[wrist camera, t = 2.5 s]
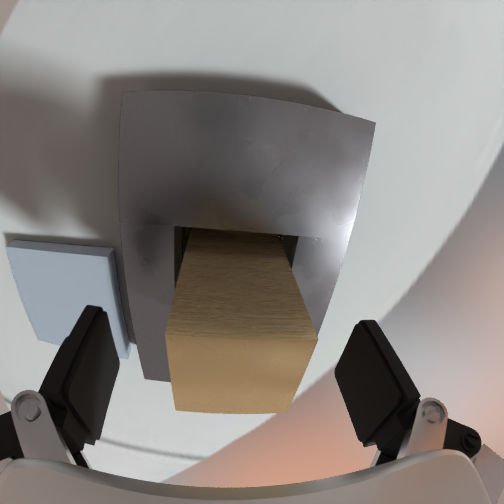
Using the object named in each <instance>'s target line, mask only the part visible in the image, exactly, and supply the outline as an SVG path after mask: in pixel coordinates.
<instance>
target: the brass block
mask: <svg viewBox="0 0 504 504" xmlns="http://www.w3.org/2000/svg"><path fill="white" fill-rule="evenodd" d="M165 338H166V347H167V356H168V364H169V371H170V378H171V385H172V391H173V397H174V403H175V409H176V410H178V411H189V412H203V413H225V414H264V413H286V412H287V411H288V408H289V406H290V404H291V402H292V400H293V398H294V396H295V393H296V391H297V389H298V387H299V384H300V382H301V380H302V378H303V375H304V373H305V371H306V368H307V366H308V363H309V361H310V359H311V356H312V354H313V351H314V349H315V346H316V344H317V341H318V337H317V335H316V332H315V329H314V326H313V324H312V321H311V318H310V316H309V313H308V311H307V308H306V305H305V303H304V300H303V297H302V295H301V292H300V290H299V287H298V285H297V282H296V279H295V277H294V274H293V272H292V269H291V267H290V264H289V262H288V259H287V257H286V254H285V252H284V249H283V247H282V244H281V242H280V239H279V237H278V234H271V233H259V232H247V231H235V230H222V229H209V228H196V227H192V229H191V232H190V236H189V239H188V243H187V246H186V250H185V254H184V257H183V261H182V265H181V269H180V272H179V276H178V280H177V284H176V288H175V292H174V296H173V301H172V305H171V309H170V313H169V318H168V322H167V327H166V331H165Z"/></svg>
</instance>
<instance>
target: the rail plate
mask: <svg viewBox="0 0 504 504" xmlns="http://www.w3.org/2000/svg"><path fill="white" fill-rule="evenodd" d="M375 124H376V123H375V122H372V121H369V120H366V119H362V118H359V117H355V116H352V115H348V114H344V113H340V112H336V111H332V110H328V109H324V108H320V107H315V106H310V105H305V104H300V103H295V102H290V101H284V100H278V99H272V98H265V97H258V96H250V95H241V94H232V93H220V92H205V91H179V90H154V91H128V92H123V94H122V104H121V117H120V132H119V165H118V180H119V214H120V230H121V243H122V254H123V263H124V272H125V280H126V287H127V294H128V301H129V307H130V313H131V319H132V324H133V329H134V334H135V339H136V344H137V349H138V353H139V358H140V362H141V366H142V370H143V374H144V378H145V379H149V380H157V381H165V382H171V378H170V371H169V364H168V356H167V347H166V338H165V331H166V327H167V322H168V318H169V313H170V309H171V305H172V301H173V296H174V292H175V288H176V284H177V280H178V276H179V272H180V269H181V265H182V227H196V228H209V229H222V230H235V231H247V232H259V233H271V234H282V235H284V236H283V241H282V247H283V249H284V252H285V254H286V257H287V259H288V262H289V264H290V267H291V269H292V272H293V274H294V277H295V279H296V282H297V285H298V287H299V290H300V292H301V295H302V297H303V300H304V303H305V305H306V308H307V311H308V313H309V316H310V318H311V321H312V324H313V326H314V329H315V332H316V335H317V336H318V333H319V330H320V328H321V325H322V322H323V319H324V317H325V314H326V311H327V308H328V305H329V302H330V300H331V297H332V294H333V291H334V288H335V285H336V282H337V278H338V275H339V272H340V269H341V266H342V262H343V259H344V256H345V253H346V249H347V246H348V242H349V239H350V235H351V232H352V228H353V224H354V220H355V217H356V213H357V209H358V205H359V201H360V197H361V193H362V189H363V184H364V180H365V175H366V171H367V166H368V161H369V157H370V152H371V146H372V141H373V136H374V130H375Z"/></svg>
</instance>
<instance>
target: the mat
mask: <svg viewBox="0 0 504 504" xmlns="http://www.w3.org/2000/svg"><path fill="white" fill-rule="evenodd" d="M6 251H7V254H8V258H9V262H10V266H11V269H12V272H13V276H14V279H15V282H16V285H17V288H18V291H19V294H20V297H21V299H22V302H23V305H24V308H25V310H26V313H27V315H28V318H29V320H30V322H31V325H32V327H33V329H34V332H35V334H36V336H37V338H38V340H41V341H44V342H48V343H52V344H56V345H60V346H61V344H62V343H63V341H64V339H65V338H66V337H67V336H69V335H70V333H71V331H72V329H73V327H74V326H75V324H76V322H77V320H78V318H79V317H80V315H81V313H82V312H83V310H84V308H85V307H86V305H93V306H100V307H102V308H103V311H106V312H107V314H108V318H109V323H110V327H111V331H112V335H113V339H114V343H115V347H116V350H117V354H118V357H119V358H124V359H128V357H129V354H130V351H131V346H130V342H129V338H128V333H127V329H126V324H125V319H124V314H123V308H122V303H121V297H120V291H119V285H118V278H117V271H116V263H115V255H114V248H105V247H93V246H81V245H69V244H57V243H45V242H34V241H22V240H13V241H12V242H10V243H9V244H8V245H7V246H6Z"/></svg>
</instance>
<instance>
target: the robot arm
mask: <svg viewBox="0 0 504 504" xmlns="http://www.w3.org/2000/svg"><path fill="white" fill-rule="evenodd" d="M119 366H120V362H119V357H118V354H117V350H116V347H115V343H114V339H113V335H112V331H111V327H110V323H109V318H108V314H107V312H106V311H103V308H102V307H100V306H93V305H86V307H85V308H84V310H83V312H82V313H81V315H80V317H79V318H78V320H77V322H76V324H75V326H74V327H73V329H72V331H71V333H70V335H69V336H67V337H66V338H65V339H64V341H63V343H62V344H61V346H60V348H59V350H58V352H57V354H56V356H55V358H54V360H53V362H52V364H51V366H50V368H49V370H48V372H47V374H46V376H45V378H44V381H43V383H42V385H41V387H40V389H39V392H36V391H33V390H25V391H22V392H20V393H18V394H17V395H16V396H15V397H14V399H13V401H12V404H11V411H9V412H7V413H5V414H2V415H0V504H496V503H497V501H498V499H499V497H500V494H501V492H502V490H503V488H504V459H502V458H501V457H500V456H499V455H497V454H496V453H495V452H494V451H492V450H491V449H490V448H489V447H488V446H486V445H485V444H483V445H482V446H481V438H480V436H479V434H478V433H477V432H476V431H475V430H474V429H472V428H470V427H467V426H465V425H462V424H460V423H458V422H456V421H453V420H451V419H449V418H448V413H447V409H446V408H445V406H444V405H443V403H441V402H440V401H439V400H437V399H435V398H425V399H423V400H422V401H420V399H419V397H420V394H419V392H418V390H417V388H416V387H415V385H414V383H413V381H412V380H411V378H410V376H409V374H408V373H407V371H406V369H405V367H404V366H403V364H402V362H401V361H400V359H399V357H398V356H397V354H396V353H395V351H394V349H393V348H392V346H391V344H390V343H389V341H388V339H387V338H386V336H385V335H384V333H383V332H382V330H381V328H380V327H379V325H378V324H377V322H376V321H375V320H361V321H360V322H359V323H358V324H356V325H355V327H354V329H353V331H352V334H351V336H350V338H349V340H348V342H347V345H346V347H345V349H344V351H343V353H342V355H341V357H340V360H339V362H338V364H337V366H336V368H335V378H336V380H337V383H338V386H339V388H340V391H341V393H342V396H343V399H344V401H345V404H346V407H347V410H348V412H349V415H350V418H351V421H352V423H353V426H354V429H355V432H356V435H357V438H358V440H359V441H360V442H362V443H363V446H364V447H368V446H371V445H375V444H376V445H377V448H378V450H377V452H376V455H375V457H374V459H373V461H372V464H371V466H370V468H367V469H364V470H360V471H356V472H352V473H348V474H344V475H339V476H335V477H330V478H325V479H320V480H314V481H308V482H301V483H295V484H287V485H276V486H265V487H247V488H246V487H245V488H213V487H193V486H180V485H171V484H163V483H155V482H149V481H143V480H137V479H132V478H127V477H122V476H117V475H113V474H108V473H104V472H100V471H96V470H93V469H92V467H91V465H90V464H89V462H88V460H87V458H86V456H85V455H84V453H83V451H82V450H83V448H84V444H85V443H87V444H90V445H95V441H96V440H99V439H100V436H101V432H102V428H103V424H104V420H105V416H106V412H107V409H108V405H109V401H110V398H111V394H112V391H113V387H114V384H115V380H116V377H117V374H118V371H119Z"/></svg>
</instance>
